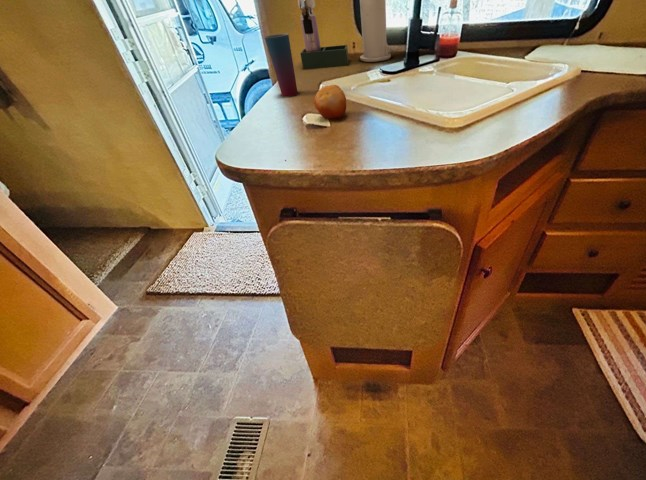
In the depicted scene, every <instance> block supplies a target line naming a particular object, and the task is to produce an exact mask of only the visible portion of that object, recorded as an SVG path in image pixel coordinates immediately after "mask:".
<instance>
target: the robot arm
mask: <svg viewBox="0 0 646 480" xmlns="http://www.w3.org/2000/svg"><path fill="white" fill-rule="evenodd" d="M386 3H387V2H386V0H359V11H360V24H361V37H362V38H361V40H362V51H363V53H362V54H361V55H360V56H359V61H361V62H364V63H375V62H382V61H388V60H390V59H391V58H392V54H391V53H399V46H398V45H389V44H388V42H387V41H388V40H387V12H386V11H387V9H386V7H387V4H386ZM297 6H298V9H299V10H300V11H301V15H302V19H303V26H304V31H305V34H312V33H313V26H312V20H310V14H314V12H313V9H315V7H316V2H315V0H297Z"/></svg>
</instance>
